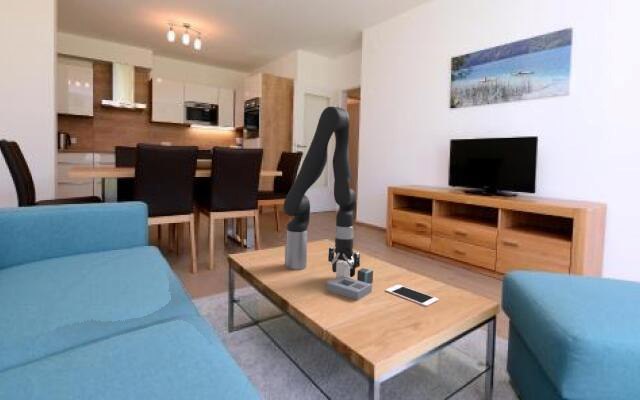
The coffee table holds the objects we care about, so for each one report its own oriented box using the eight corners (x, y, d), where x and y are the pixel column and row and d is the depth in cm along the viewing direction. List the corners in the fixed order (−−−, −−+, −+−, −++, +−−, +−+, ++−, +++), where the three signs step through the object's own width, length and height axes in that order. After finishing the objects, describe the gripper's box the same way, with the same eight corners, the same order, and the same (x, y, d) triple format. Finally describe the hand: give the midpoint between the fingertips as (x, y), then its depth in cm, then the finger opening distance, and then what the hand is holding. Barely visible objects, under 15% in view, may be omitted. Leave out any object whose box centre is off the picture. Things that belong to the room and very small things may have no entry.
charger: (336, 279, 144) (336, 262, 143) (341, 276, 147) (341, 260, 146) (344, 281, 142) (344, 265, 141) (349, 278, 145) (349, 262, 144)
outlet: (326, 290, 132) (326, 282, 132) (341, 282, 140) (341, 275, 140) (357, 300, 124) (358, 291, 123) (371, 291, 132) (371, 284, 131)
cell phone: (397, 286, 139) (398, 284, 139) (439, 301, 126) (439, 298, 126) (384, 291, 133) (384, 289, 133) (426, 308, 120) (426, 305, 120)
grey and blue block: (357, 282, 141) (357, 270, 141) (362, 279, 145) (362, 267, 144) (367, 285, 138) (368, 273, 138) (372, 282, 142) (373, 270, 141)
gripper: (325, 235, 143) (324, 272, 145) (354, 240, 135) (352, 280, 137) (335, 232, 149) (334, 268, 151) (363, 237, 140) (362, 275, 142)
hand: (343, 274), depth 144 cm, fingers open, 8 cm apart
